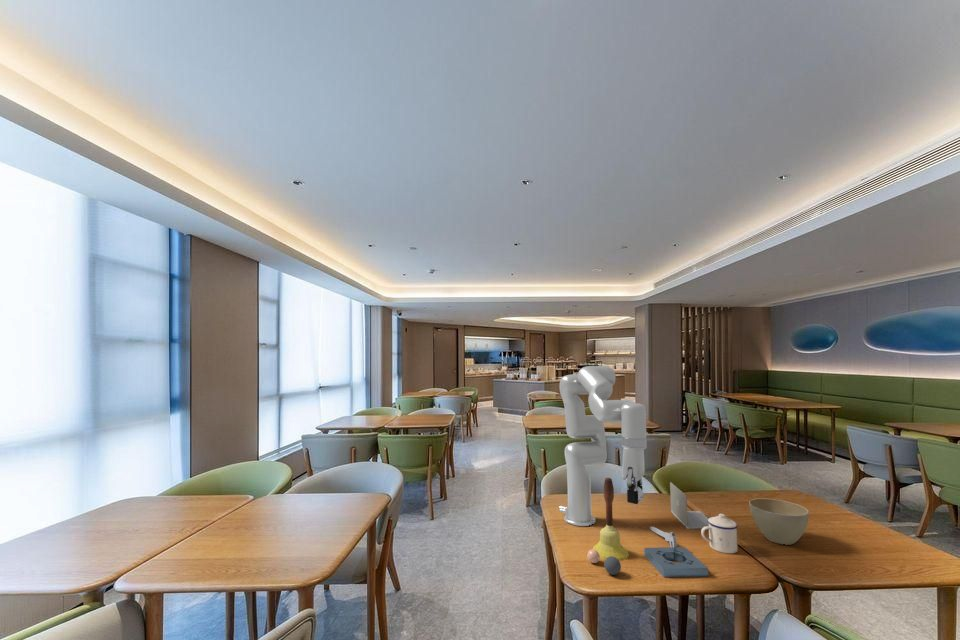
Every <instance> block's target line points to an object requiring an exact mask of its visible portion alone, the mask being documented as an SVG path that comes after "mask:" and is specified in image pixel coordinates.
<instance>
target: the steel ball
mask: <svg viewBox="0 0 960 640" xmlns="http://www.w3.org/2000/svg"><path fill="white" fill-rule="evenodd" d="M642 489H643V488H642ZM642 489H641V488H640V487H638V486H637V491H638V503H639V502H641V501H642V500H643V499H644V491H642Z"/></svg>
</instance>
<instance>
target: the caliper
mask: <svg viewBox="0 0 960 640" xmlns="http://www.w3.org/2000/svg"><path fill="white" fill-rule="evenodd" d="M649 529H650V530H651V531H652V532H653V533H655V534H657V535H659V536H661V538H664V540H665V541H666V542H669V547H678V543H677V538H676V534H675V532H673V531H670V532H665V531H663V530H661V529H659V528H657V527H655V526H649Z"/></svg>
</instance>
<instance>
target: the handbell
mask: <svg viewBox="0 0 960 640" xmlns="http://www.w3.org/2000/svg"><path fill="white" fill-rule="evenodd" d="M614 492H615V490H614V485H613V479H612V477H605V479H604V483H603V498H604V501H605V520H606V521H605V526H604V527H602V528H601V529H600V531H599V541H598V542H597V543H595V544H594V545H593V546H592V548H591V550H592V549H594V550H596V551H598V553H599V555H600V559H602V560H605V559H606V558H607V557H610V556H613V557H615V558H617V559H618V560H619V562H620V561H625V560H626V558H627V559H628V558H629V556H630V554H629V552H628V550H627V549H626V548H625V547H624V546H623V545H622V543H621V536H620V532H619V531H618V529H616V528H615V527H614V526H613V525H614V524H613V523H614V521H613V502H614V497H615V493H614ZM624 559H625V560H624Z"/></svg>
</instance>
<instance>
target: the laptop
mask: <svg viewBox="0 0 960 640" xmlns="http://www.w3.org/2000/svg"><path fill="white" fill-rule="evenodd" d="M669 489H670V490H669V491H670V492H669V495H670V498H669V499H670V512H671V513H672V514H673V515H674V516H675V518H676V519H678V521H679V522H680V523H681V524H682V525H683V526H685V528H686V529H688V530H689V529H693V530H699V529H702V528H703V527H706V526H709V523H708V519H709V518H708V517H707V515H706V514H704V513H703V512H701V511H699V510H688V502H687V501H688V496H687V494H685V493H684V492H683V491H682V490H681V489H680V488H678V487H677V486H676V485H675V484H674V483H672V482H671V481H669Z"/></svg>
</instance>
